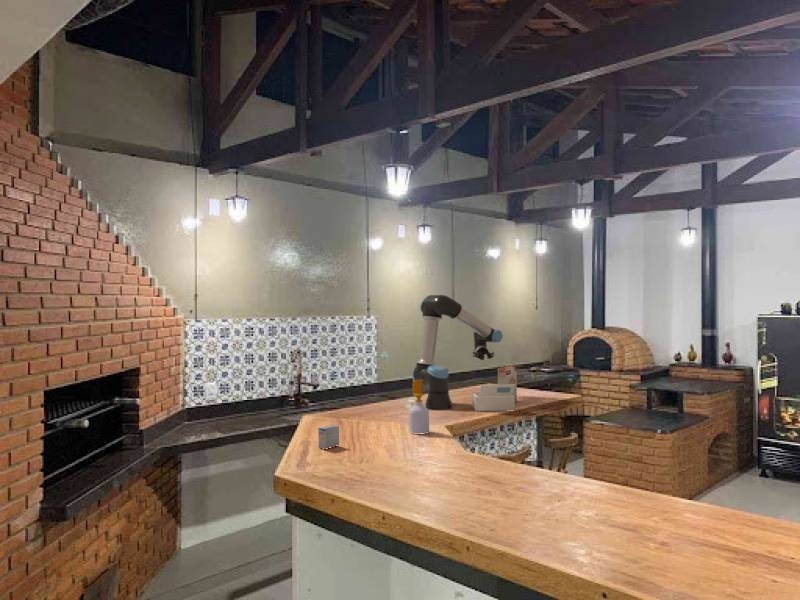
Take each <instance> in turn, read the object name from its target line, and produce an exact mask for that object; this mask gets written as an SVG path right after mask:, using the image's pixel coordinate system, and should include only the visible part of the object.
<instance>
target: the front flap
mask: <svg viewBox="0 0 800 600" xmlns="http://www.w3.org/2000/svg"><path fill="white" fill-rule="evenodd" d="M514 388H515V384H509V385H498V384H480V386H479V397H481V396H513V393H514Z"/></svg>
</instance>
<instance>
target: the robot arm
mask: <svg viewBox="0 0 800 600" xmlns="http://www.w3.org/2000/svg"><path fill="white" fill-rule="evenodd" d="M419 310H420V311H421V313H422V316H421V317H422V318H423V320H424V321H423V329H422V336H421V337H422V338H421V346H420V354H419V360H418V361H417V362H416V364H415V367H414V368H413V369H412V371H411V380H412V382H413V381H414V380H423V381H422V382H421V387H425V388H427V391H428V392H427V397H426V401H425V404H424V407H426V408H427V409H428V410H431V409H432V410H433V411H442V410H443V411H445V410H450V409H452V408H453V402H452V399H451V396H450V391H449V381H450V380H449V375H450V374H449V369H448V368H447V367H446V366H443V365H437V364H436V362H435V358H436V348H437V338H438V331H439V322H440V321H441V320H442V319H443V316H446V317H449V318H450V319H452V320H453V319H455V320H457V321H458V322H460V323H461V324H463V325H465V326H466V327H467V328H468V329H470V330H472V331H473V339H474V340H473V342H474V349H473V352H472V357H475V358H476V359H479V360H481V361H488V360H491V359H492V358H494V357H495V352H490V351H489V349H488V346H487V343H493V344H494V343H500V342H501V341H502V340H503V339H504V338H503V332H502V331H501V330H500V329H494V328H493V327H491V326H490V325H488V324H487V323H485V321H482V320H481V319H480V318H478V317H477V316H475V315H473V313H471V312H469V311H467V309H465V308H463V306H462V304H461V303H459V302H458V301H456V300H455V299H453V298H451V297H449V296H447V295H444V294H430V295H427V296H424V297H423V298H422V299H421V301H420V304H419ZM432 410H431V411H432Z"/></svg>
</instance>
